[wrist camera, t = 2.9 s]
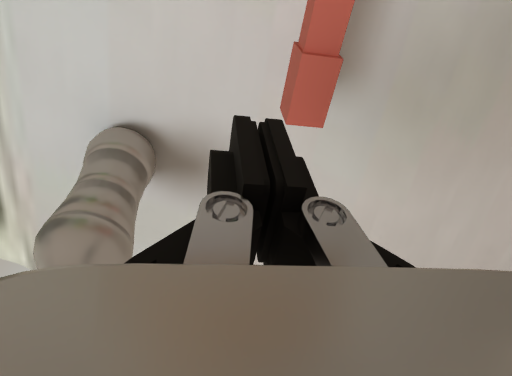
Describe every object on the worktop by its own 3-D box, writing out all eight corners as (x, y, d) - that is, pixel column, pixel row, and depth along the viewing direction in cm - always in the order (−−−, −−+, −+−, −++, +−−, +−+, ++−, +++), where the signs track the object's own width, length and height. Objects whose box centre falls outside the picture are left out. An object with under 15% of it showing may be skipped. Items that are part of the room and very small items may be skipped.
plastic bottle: (128, 182, 39) (71, 358, 23) (78, 140, 35) (-30, 317, 19) (171, 153, 37) (141, 323, 21) (124, 106, 33) (46, 269, 18)
